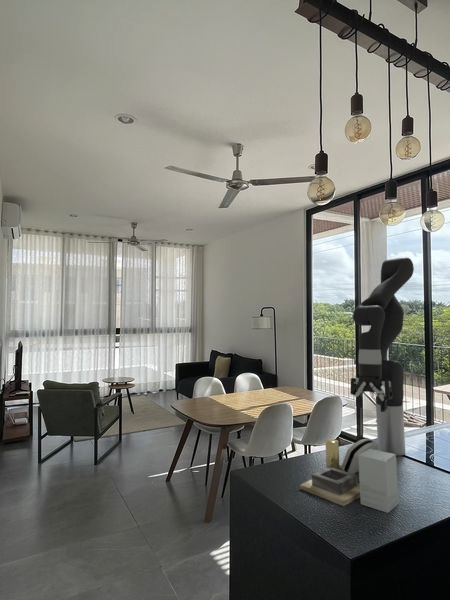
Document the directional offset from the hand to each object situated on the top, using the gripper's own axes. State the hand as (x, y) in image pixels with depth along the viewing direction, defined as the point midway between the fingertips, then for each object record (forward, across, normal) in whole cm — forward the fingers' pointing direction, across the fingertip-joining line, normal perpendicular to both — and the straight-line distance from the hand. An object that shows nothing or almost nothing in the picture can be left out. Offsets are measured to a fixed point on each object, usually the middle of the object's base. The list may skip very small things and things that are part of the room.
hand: (371, 409), depth 129 cm
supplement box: (+18, -16, +28) cm, 37 cm away
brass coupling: (+18, +3, +19) cm, 26 cm away
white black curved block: (+18, 0, +8) cm, 20 cm away
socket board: (+18, -4, +29) cm, 34 cm away
